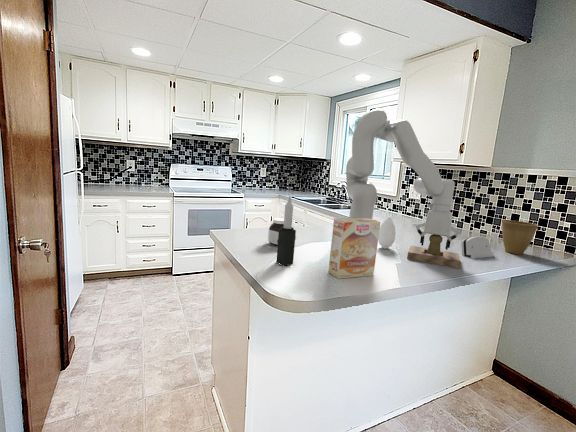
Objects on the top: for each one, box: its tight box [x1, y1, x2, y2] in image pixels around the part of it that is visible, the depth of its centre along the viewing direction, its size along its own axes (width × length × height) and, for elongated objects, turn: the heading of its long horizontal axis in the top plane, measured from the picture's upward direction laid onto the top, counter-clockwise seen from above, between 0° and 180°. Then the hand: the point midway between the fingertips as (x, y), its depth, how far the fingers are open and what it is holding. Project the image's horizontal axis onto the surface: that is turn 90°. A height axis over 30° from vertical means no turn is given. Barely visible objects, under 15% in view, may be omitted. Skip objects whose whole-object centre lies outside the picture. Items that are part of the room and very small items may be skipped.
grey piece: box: [461, 236, 495, 259], centre depth 152 cm, size 17×5×10 cm, turn 114°
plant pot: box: [501, 219, 539, 255], centre depth 162 cm, size 15×15×16 cm
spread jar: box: [267, 217, 297, 247], centre depth 143 cm, size 12×11×12 cm
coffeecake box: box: [327, 217, 382, 280], centre depth 109 cm, size 15×7×20 cm, turn 114°
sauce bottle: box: [378, 211, 397, 250], centre depth 150 cm, size 8×8×18 cm
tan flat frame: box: [406, 245, 461, 269], centre depth 138 cm, size 20×14×3 cm
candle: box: [276, 195, 297, 266], centre depth 115 cm, size 5×5×25 cm
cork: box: [427, 234, 443, 256], centre depth 137 cm, size 6×6×11 cm
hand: (434, 247), depth 137 cm, fingers open, 9 cm apart
